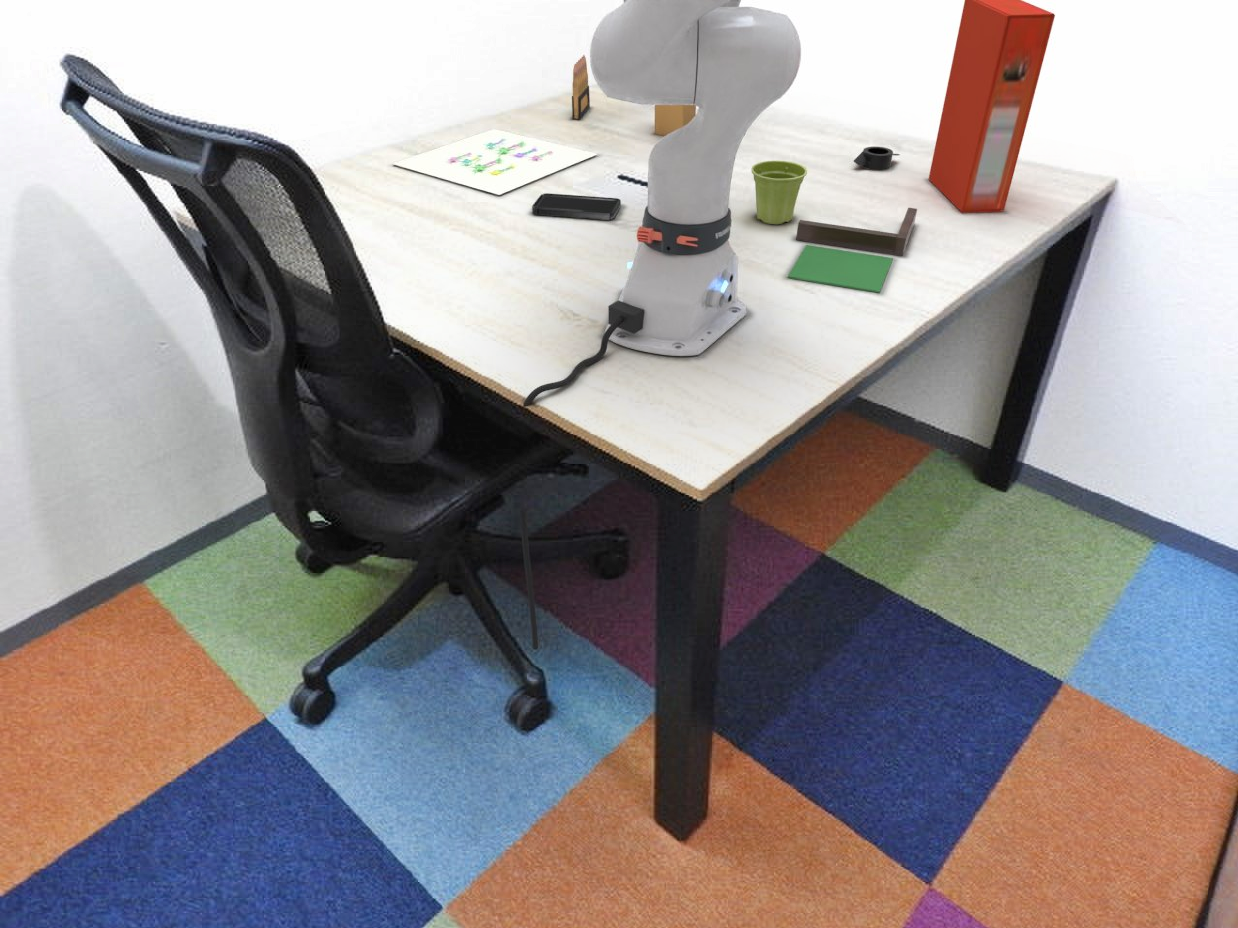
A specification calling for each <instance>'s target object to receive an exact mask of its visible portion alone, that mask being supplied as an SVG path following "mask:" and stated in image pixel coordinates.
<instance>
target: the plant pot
mask: <svg viewBox="0 0 1238 928" xmlns="http://www.w3.org/2000/svg"><path fill="white" fill-rule="evenodd" d="M751 173H752V174H753V181H754V184H755V185H754V187H755V202H756V203H755V204H756V205H755V207H756V218H757V220H761V221H762V222H763V223H765V224H769V225H781V224H783V223H785V222H787V223H789V222H790V221H791V220H792V218H793V214H794V212H795V211H794V210H795V206H796V203H797V199H798V196H799V192H800V189H801V185H802V184H803V182H804V180H805V179H804V178H805V177H806V176H807V174H808V169H807V168H806V167H805V166H804V165H802V164H800V163H797V162H794V161H793V162H792V161H787V160H765V161H760V162H757V163H755V164H753V165H752V167H751Z"/></svg>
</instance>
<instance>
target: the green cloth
mask: <svg viewBox="0 0 1238 928" xmlns="http://www.w3.org/2000/svg"><path fill="white" fill-rule="evenodd" d="M892 262H893V257H889V256H882V255H876V254H871V253H870V254H869V253H863V252H855V251H850V250H849V251H848V250H844V249H843V250H842V249H837V248H829V247H823V246H817V245H809V244H805V246H804V248H803V250H802V251H801V253H800V254H799V256H798V258H797V260H796V261H795V263H794V264H793V267H792V268H791V270H790V271H789V273H788V275H787V279H792V280H799V281H804V282H809V283H817V284H822V285H827V286H835V287H841V288H846V289H853V290H859V291H865V292H871V293H877V294H880V293H881V290H882V287H883V286H884V282H885V279H886V278H887V275H888V272H889V270H890V267H891V265H892Z"/></svg>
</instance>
